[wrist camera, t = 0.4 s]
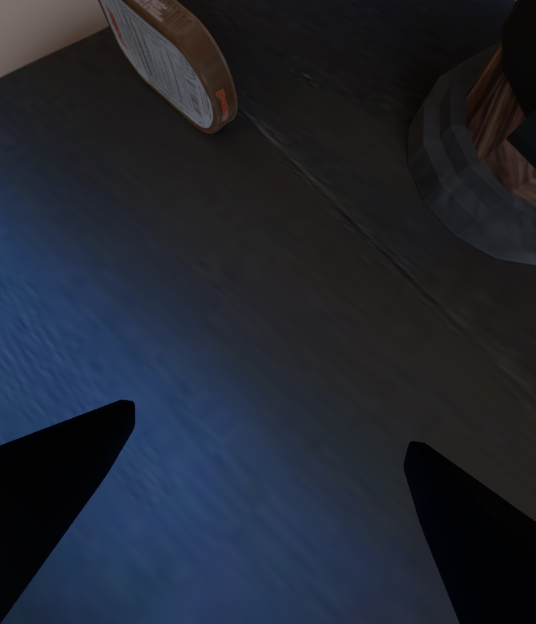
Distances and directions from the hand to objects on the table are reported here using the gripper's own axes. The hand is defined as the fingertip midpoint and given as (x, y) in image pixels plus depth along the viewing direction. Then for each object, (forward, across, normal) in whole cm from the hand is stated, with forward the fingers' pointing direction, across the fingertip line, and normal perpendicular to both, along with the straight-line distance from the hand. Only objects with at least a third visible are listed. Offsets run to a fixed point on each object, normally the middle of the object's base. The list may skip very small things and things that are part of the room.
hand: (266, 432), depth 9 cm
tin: (+24, +14, -20) cm, 34 cm away
